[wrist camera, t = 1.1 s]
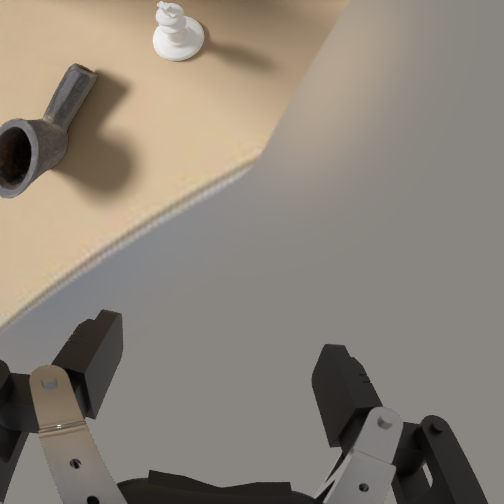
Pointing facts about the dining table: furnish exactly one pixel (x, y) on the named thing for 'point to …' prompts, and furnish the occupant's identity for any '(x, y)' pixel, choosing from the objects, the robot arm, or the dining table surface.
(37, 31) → the dining table surface
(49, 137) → the pipe
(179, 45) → the chess piece
